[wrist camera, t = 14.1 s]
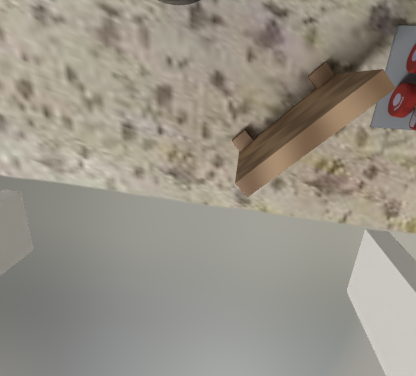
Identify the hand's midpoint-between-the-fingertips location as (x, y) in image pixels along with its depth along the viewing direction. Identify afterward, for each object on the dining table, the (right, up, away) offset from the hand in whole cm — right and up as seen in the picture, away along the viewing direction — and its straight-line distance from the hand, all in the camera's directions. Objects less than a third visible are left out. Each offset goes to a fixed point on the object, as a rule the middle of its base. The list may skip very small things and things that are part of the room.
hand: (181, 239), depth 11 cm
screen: (+12, +12, +28) cm, 33 cm away
